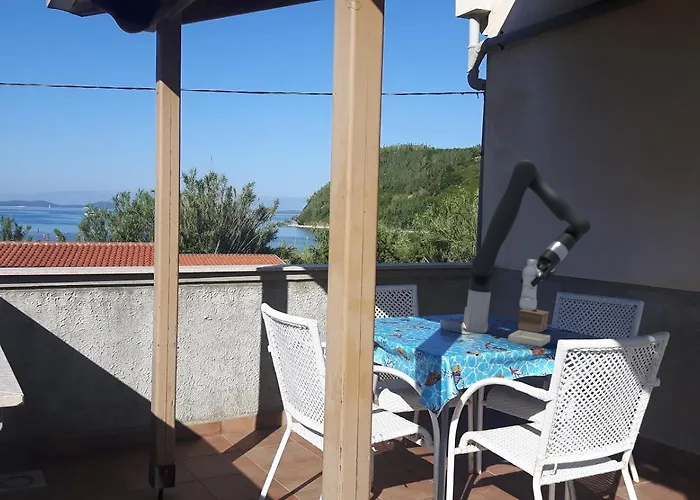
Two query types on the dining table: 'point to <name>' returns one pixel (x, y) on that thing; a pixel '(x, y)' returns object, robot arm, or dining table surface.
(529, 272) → the plastic bottle
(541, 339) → the tray
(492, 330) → the dining table surface
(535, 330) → the lidded box
